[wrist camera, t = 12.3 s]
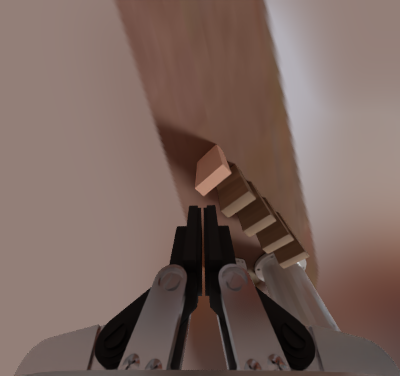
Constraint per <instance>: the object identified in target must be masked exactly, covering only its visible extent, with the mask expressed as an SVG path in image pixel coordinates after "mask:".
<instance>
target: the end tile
mask: <svg viewBox="0 0 400 376" xmlns="http://www.w3.org/2000/svg"><path fill="white" fill-rule="evenodd" d="M230 174H231V171H230V168H229V166H228V163H227V161H226V158H225V156H224V153H223V151H222V150H221V148H220V147H219V146H218V145H217V144H216V145H215V146H214V147H213V148H212V149H211V150H209V151H208V152H207V153H206V154H205V155H204V156H203V157H202V158H201V159H200V160H199V161H198V162H197V171H196V182H195V189H196V190H197V191H198V192H200V193H201V194H202V195H203V196H204V195H206V194H207V193H208V192H209V191H211V190H212V189H213V188H214V187H215V186H217V185H218V184H219V183H220V182H222V181H223V180H224V179H225V178H226V177H228V176H229V175H230Z"/></svg>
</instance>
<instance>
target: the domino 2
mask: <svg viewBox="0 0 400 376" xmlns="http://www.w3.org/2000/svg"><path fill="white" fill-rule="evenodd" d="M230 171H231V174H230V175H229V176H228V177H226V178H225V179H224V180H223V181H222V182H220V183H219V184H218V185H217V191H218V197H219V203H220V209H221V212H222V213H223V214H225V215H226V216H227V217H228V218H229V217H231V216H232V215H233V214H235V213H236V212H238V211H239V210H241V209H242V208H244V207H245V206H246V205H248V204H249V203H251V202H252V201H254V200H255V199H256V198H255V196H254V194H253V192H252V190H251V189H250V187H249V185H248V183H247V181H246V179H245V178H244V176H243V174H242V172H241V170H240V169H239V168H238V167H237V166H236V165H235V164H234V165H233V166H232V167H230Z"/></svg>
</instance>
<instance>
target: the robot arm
mask: <svg viewBox="0 0 400 376" xmlns="http://www.w3.org/2000/svg"><path fill="white" fill-rule="evenodd" d="M204 254H205V295H206V296H209V298H210V299H209V300H210V307H211V308H212V309H213V310H214V312H216V314H217V318H218V323H219V329H220V334H221V339H222V344H223V349H224V354H225V359H226V364H227V369H228V370H181V369H182V363H183V358H184V352H185V346H186V341H187V335H188V329H189V324H190V318H191V313H192V312H193V311H194V310H195V309H196V307H197V303H198V296H202V225H201V208H198V206H189V212H188V220H187V226H178V227H177V229H176V234H175V239H174V244H173V249H172V254H171V260H170V264H169V265H168V266H165V267H164V268H162V269H161V270H160V271H159V272H158V274H157V275H156V277H155V280H154V282H153V285H152V287H151V288H150V289H148V290H147V291H146V292H145V293H144V294H142V295H141V296H140V297H139V298H137V299H136V300H135V301H134V302H133V303H131V304H130V305H129V306H128V307H126V308H125V309H124V310H123V311H121V312H120V313H119V314H118V315H116V316H115V317H114V318H113V319H112V320H110V321H109V322H108V323H107V324H106V325H103V326H99V325H95V326H91V327H88V328H84V329H80V330H76V331H73V332H69V333H66V334H62V335H58V336H54V337H51V338H48V339H46V340H44V341H42V342H40V343H39V344H37V345H36V346H35V347H33V348H32V349H31V351H30V352H29V353H28V354H27V355H26V356H25V358H24V359H23V360H22V362H21V364H20V365H19V367H18V369H17V371H16V373H15V375H14V376H400V370H399V368H398V367H397V365H396V364H395V362H394V361H393V360H392V358H391V357H390V356H389V355H388V354H387V353H386V352H385V351H384V350H383V349H382V348H381V347H380V346H378V345H377V344H375V343H374V342H372V341H370V340H368V339H365V338H362V337H358V336H354V335H350V334H347V333H343V332H341V331H340V330H339V328H338V326H337V325H336V323H335V321H334V320H333V318H332V316H331V315H330V313H329V311H328V310H327V308H326V306H325V305H324V303H323V301H322V300H321V298H320V296H319V295H318V293H317V291H316V290H315V288H314V286H313V285H312V283H311V281H310V280H309V278H308V276H307V275H306V273H305V271H304V270H305V268H306V260H305V259H303V260H301V261H299V262H297V263H295V264H293V265H291V266H289V267H287V268H285V269H284V268H283V267H281V266H280V265H279V263H278V261H277V259H276V257H275V255H274V253H273V252H271V253H269V254H267V253H266V254H264V255H263V256H261V257H260V258H259V259H258V260H257V262H256V264H255V268H254V269H255V273H256V275H257V277H258V278H259V279H261V280H262V281H265V283H266V286H267V289H268V292H269V295H270V298H269V297H268V296H267V295H266V294H264V293H263V292H262V291H260V290H259V289H258V288H257V287H255V286H254V284H253V281H252V279H251V277H250V275H249V273H248V271H247V270H245V269H244V268H243V267H241V266H240V265H237V264H236V259H235V254H234V250H233V245H232V240H231V235H230V231H229V227H228V226H218V222H217V215H216V207H215V205H207V208H204Z"/></svg>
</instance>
